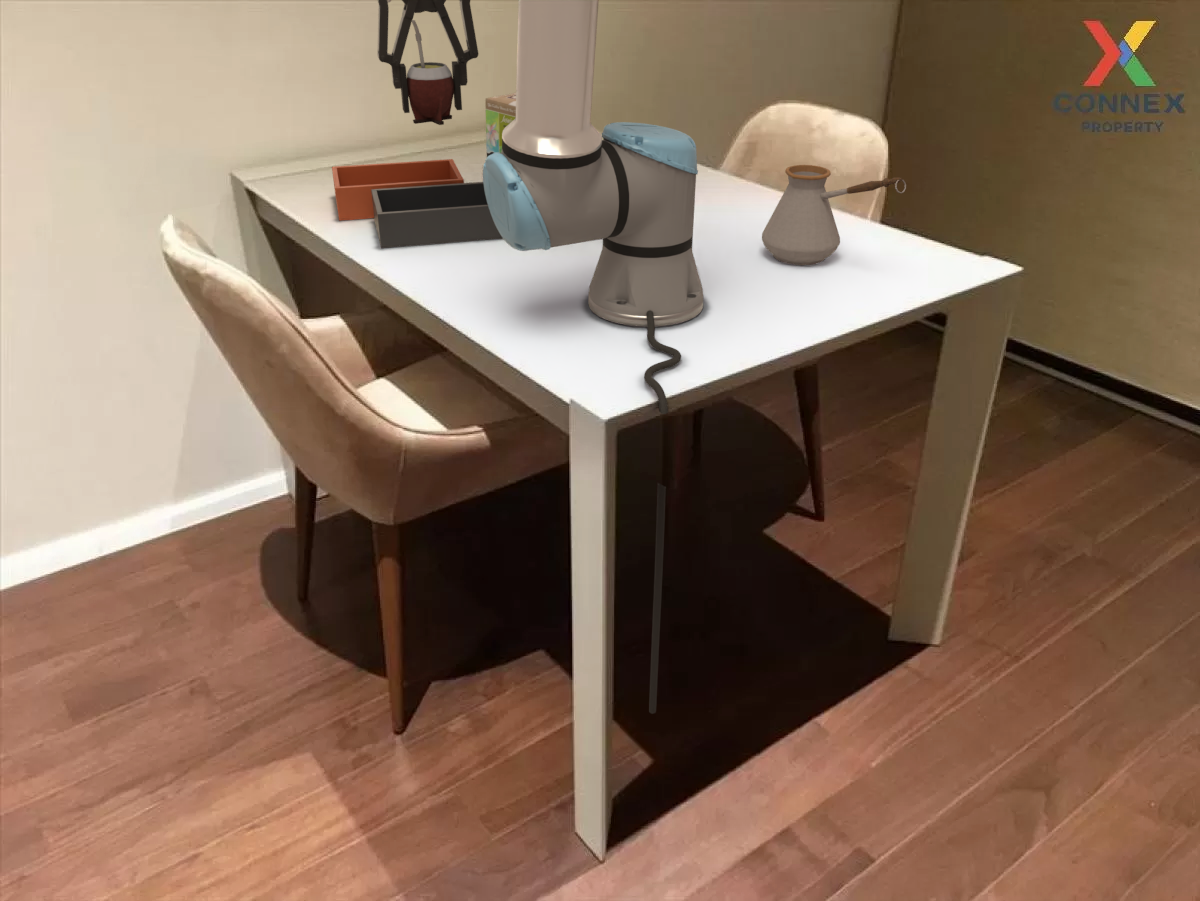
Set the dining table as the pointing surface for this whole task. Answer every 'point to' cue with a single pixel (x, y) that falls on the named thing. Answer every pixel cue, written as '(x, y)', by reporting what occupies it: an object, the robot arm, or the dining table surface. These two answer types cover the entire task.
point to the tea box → (498, 119)
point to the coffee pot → (808, 216)
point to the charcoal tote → (432, 215)
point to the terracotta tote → (385, 182)
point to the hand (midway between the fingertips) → (432, 109)
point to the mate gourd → (429, 88)
